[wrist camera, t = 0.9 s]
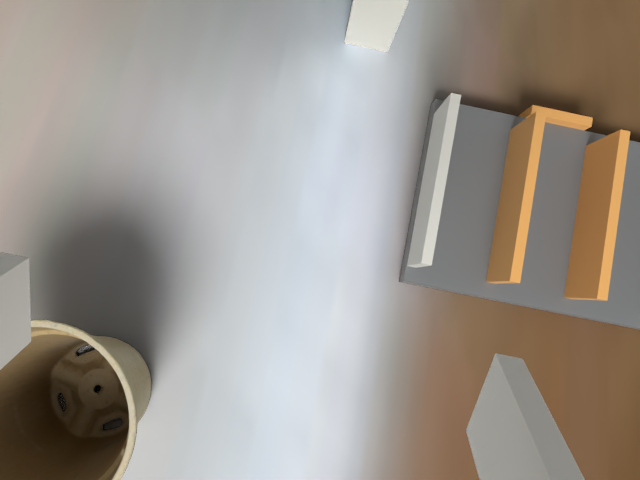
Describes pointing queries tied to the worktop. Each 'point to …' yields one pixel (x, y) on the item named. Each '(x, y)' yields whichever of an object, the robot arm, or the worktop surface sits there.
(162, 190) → the worktop surface
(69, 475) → the flower pot
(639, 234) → the rack
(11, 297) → the robot arm
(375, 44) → the panel
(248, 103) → the worktop surface
